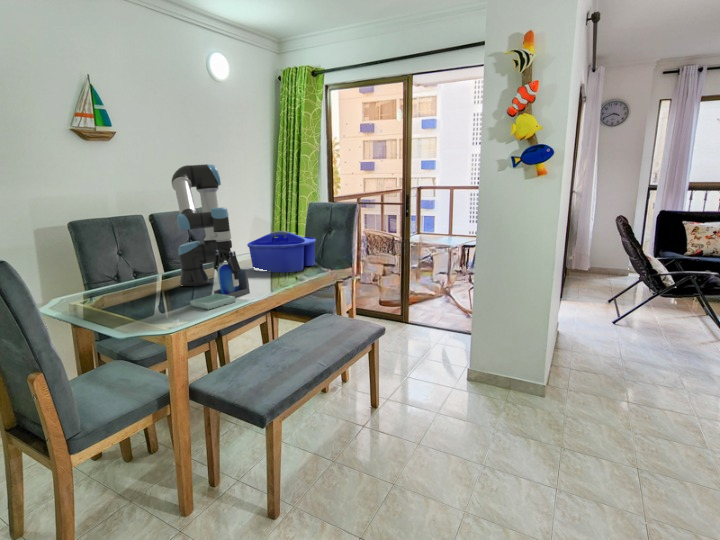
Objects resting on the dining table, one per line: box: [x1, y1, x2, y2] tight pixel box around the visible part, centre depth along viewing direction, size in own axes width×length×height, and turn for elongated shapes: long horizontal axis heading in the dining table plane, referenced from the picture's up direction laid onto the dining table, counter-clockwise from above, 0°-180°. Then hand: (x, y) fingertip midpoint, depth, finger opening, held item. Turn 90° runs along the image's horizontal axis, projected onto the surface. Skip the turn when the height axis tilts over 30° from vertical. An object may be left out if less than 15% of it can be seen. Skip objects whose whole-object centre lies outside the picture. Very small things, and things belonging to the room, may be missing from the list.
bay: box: [213, 267, 251, 298], centre depth 211 cm, size 13×11×12 cm
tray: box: [189, 293, 236, 311], centre depth 196 cm, size 14×14×2 cm
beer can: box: [217, 261, 239, 296], centre depth 209 cm, size 8×8×16 cm
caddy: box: [246, 230, 317, 273], centre depth 271 cm, size 32×45×23 cm
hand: (228, 284), depth 210 cm, fingers open, 11 cm apart
